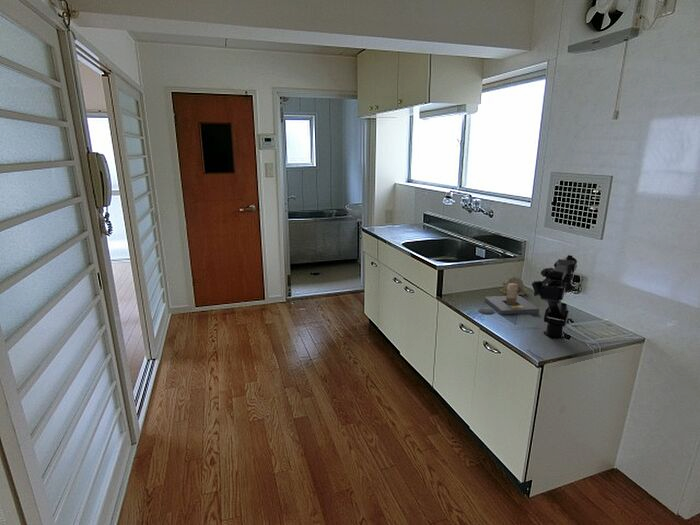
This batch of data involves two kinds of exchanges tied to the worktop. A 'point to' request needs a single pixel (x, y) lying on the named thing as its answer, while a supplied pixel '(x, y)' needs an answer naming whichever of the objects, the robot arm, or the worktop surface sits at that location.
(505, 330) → the worktop surface
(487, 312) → the pad
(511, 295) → the beech peg
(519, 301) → the hole plate
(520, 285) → the ceramic model
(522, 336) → the worktop surface
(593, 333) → the worktop surface
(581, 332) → the worktop surface
